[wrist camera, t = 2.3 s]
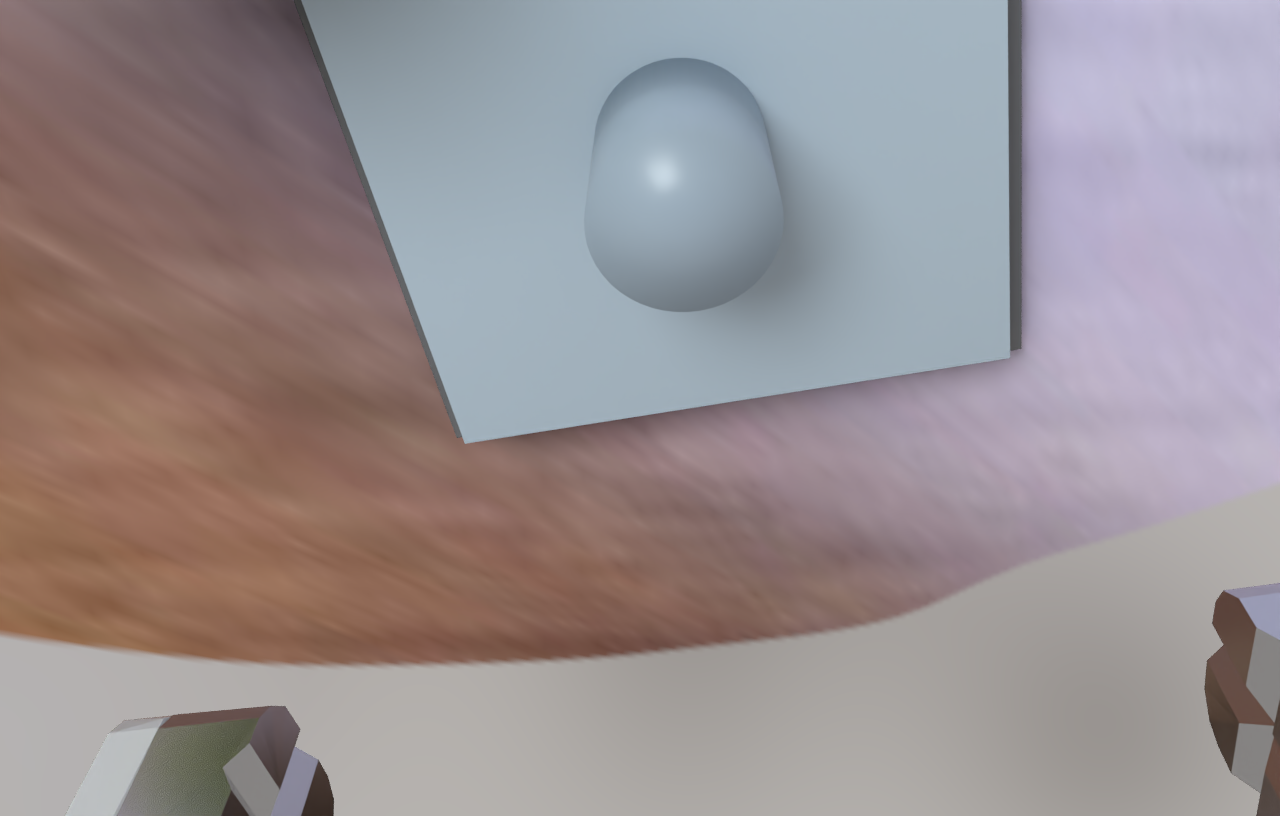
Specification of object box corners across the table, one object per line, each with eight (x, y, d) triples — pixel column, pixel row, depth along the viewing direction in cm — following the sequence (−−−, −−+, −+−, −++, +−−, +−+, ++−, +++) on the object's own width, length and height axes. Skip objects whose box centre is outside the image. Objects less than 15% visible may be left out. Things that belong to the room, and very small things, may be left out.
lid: (471, 417, 25) (439, 549, 21) (269, -145, 18) (172, -92, 15) (997, 333, 24) (1060, 459, 20) (988, -313, 17) (1080, -301, 13)
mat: (460, 422, 26) (456, 437, 25) (241, -175, 19) (229, -171, 18) (1014, 334, 24) (1021, 348, 24) (1011, -359, 17) (1021, -359, 17)
